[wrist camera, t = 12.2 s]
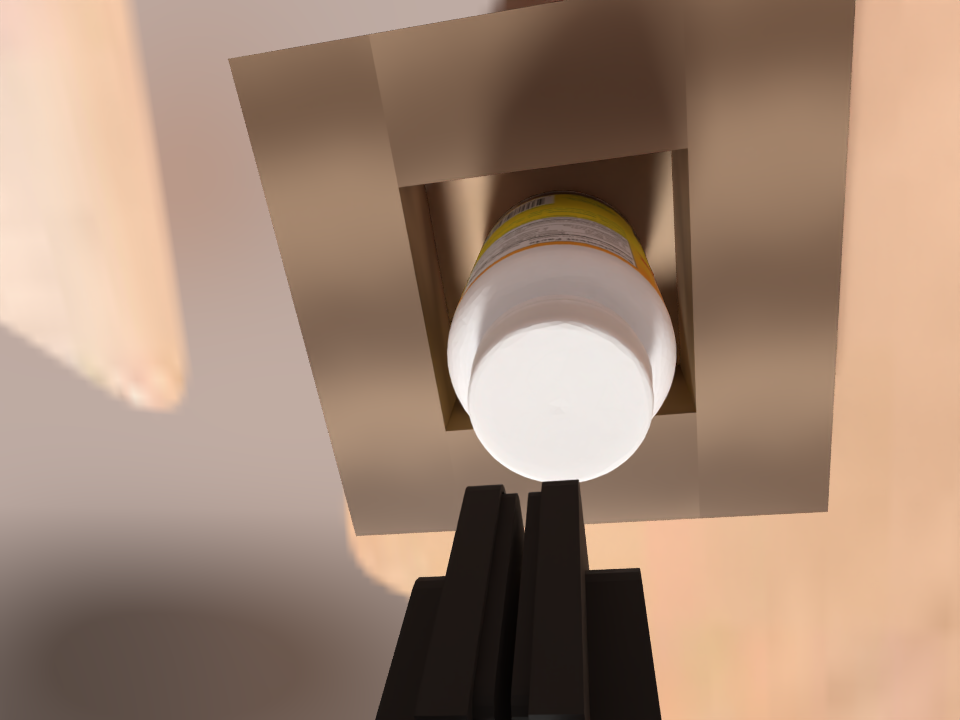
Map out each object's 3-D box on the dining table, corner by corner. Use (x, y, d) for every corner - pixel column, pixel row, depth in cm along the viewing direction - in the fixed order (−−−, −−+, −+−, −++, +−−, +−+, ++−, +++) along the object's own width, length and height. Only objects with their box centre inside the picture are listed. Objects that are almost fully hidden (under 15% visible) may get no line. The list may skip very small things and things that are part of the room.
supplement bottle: (609, 362, 25) (634, 546, 16) (462, 315, 25) (400, 473, 16) (670, 215, 23) (741, 332, 14) (508, 163, 23) (468, 244, 14)
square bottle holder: (276, 56, 22) (228, 59, 19) (811, -36, 20) (858, -51, 16) (379, 481, 28) (356, 535, 25) (795, 454, 26) (827, 511, 23)
